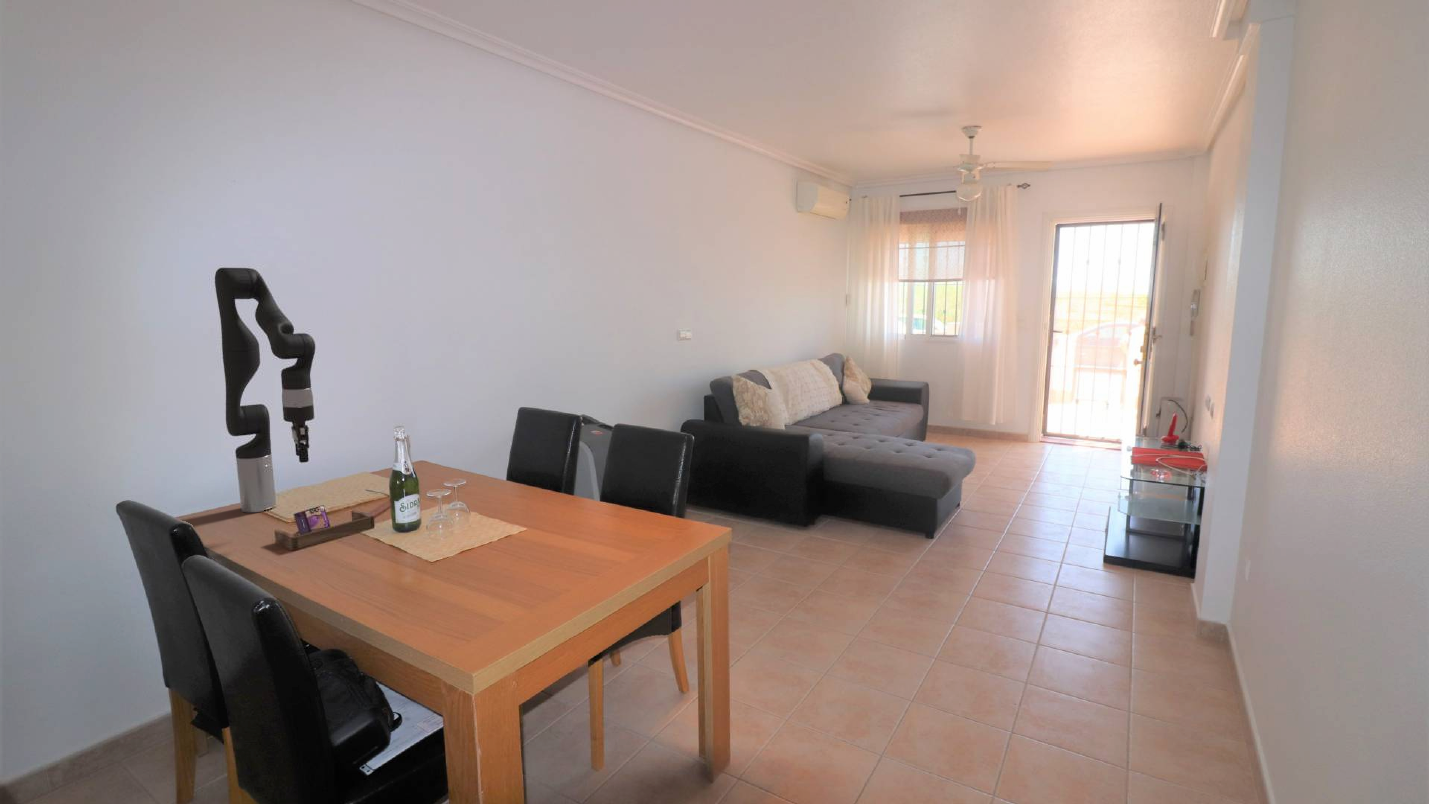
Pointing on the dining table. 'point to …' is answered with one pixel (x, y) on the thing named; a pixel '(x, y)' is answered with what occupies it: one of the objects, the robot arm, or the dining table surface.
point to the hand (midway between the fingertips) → (302, 458)
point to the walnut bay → (326, 532)
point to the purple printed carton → (310, 520)
